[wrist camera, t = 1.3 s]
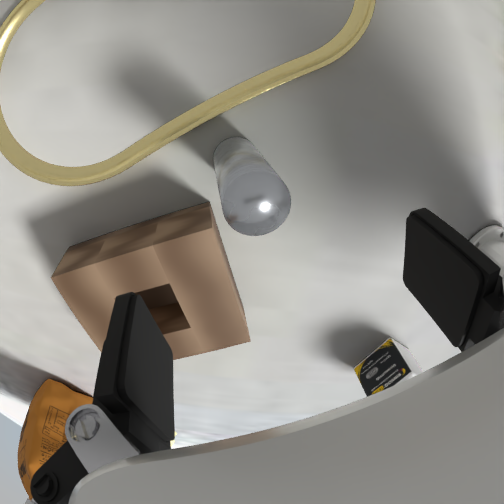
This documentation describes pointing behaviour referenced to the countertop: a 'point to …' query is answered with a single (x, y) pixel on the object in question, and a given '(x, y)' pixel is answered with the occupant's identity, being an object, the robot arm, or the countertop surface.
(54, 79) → the countertop surface
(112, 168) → the wavy rubber band
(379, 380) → the medicine bottle
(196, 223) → the bore block
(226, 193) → the pin
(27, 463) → the coffee package
